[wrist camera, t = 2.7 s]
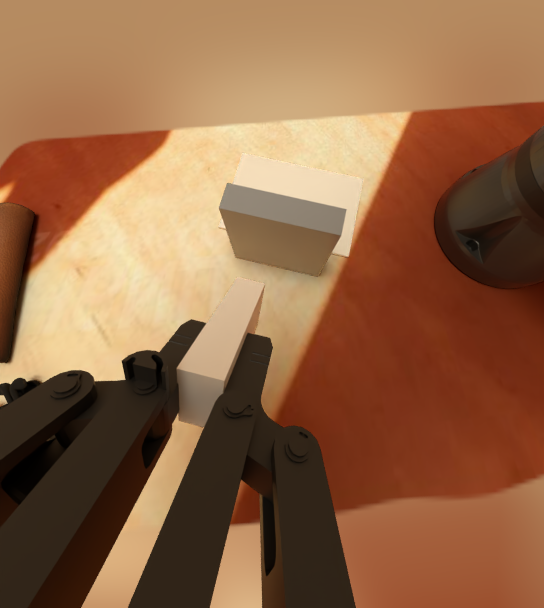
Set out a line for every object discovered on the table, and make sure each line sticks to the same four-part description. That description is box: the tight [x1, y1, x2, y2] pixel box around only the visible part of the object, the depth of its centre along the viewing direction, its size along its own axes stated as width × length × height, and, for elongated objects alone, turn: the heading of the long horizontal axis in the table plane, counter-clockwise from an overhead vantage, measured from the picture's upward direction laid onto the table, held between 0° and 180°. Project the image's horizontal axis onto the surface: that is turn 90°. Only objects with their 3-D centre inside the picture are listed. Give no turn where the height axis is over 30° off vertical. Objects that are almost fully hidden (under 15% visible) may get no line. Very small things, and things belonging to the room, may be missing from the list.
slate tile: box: [219, 183, 347, 277], centre depth 25 cm, size 10×3×10 cm, turn 76°
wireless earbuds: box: [0, 378, 41, 409], centre depth 25 cm, size 7×2×5 cm
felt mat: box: [219, 153, 364, 258], centre depth 31 cm, size 16×11×1 cm
